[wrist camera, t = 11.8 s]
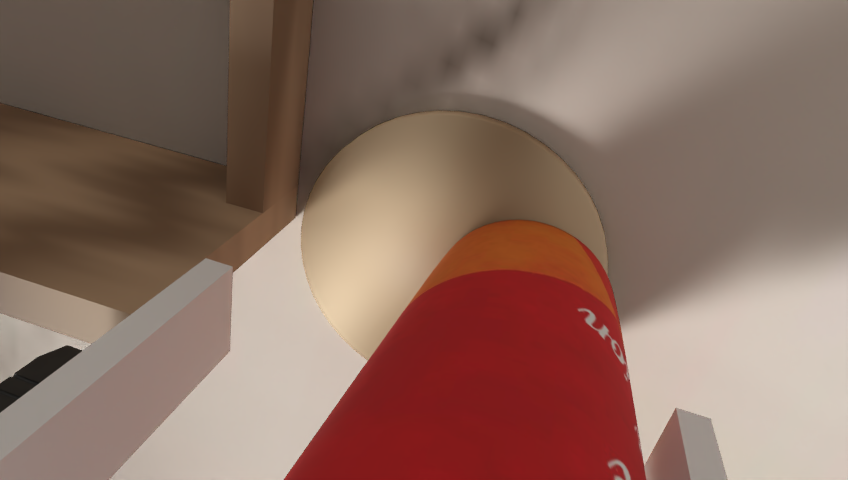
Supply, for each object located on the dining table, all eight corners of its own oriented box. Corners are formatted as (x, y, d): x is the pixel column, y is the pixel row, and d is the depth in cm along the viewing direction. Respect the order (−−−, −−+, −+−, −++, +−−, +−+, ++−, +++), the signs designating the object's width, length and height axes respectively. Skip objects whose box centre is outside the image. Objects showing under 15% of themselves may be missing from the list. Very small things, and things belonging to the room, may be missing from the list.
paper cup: (579, 431, 19) (543, 1209, 7) (378, 336, 20) (34, 901, 8) (708, 247, 16) (1094, 1244, 3) (453, 138, 16) (13, 639, 4)
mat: (297, 335, 22) (290, 345, 21) (322, 75, 17) (314, 78, 16) (553, 417, 20) (553, 429, 20) (657, 158, 16) (659, 165, 15)
